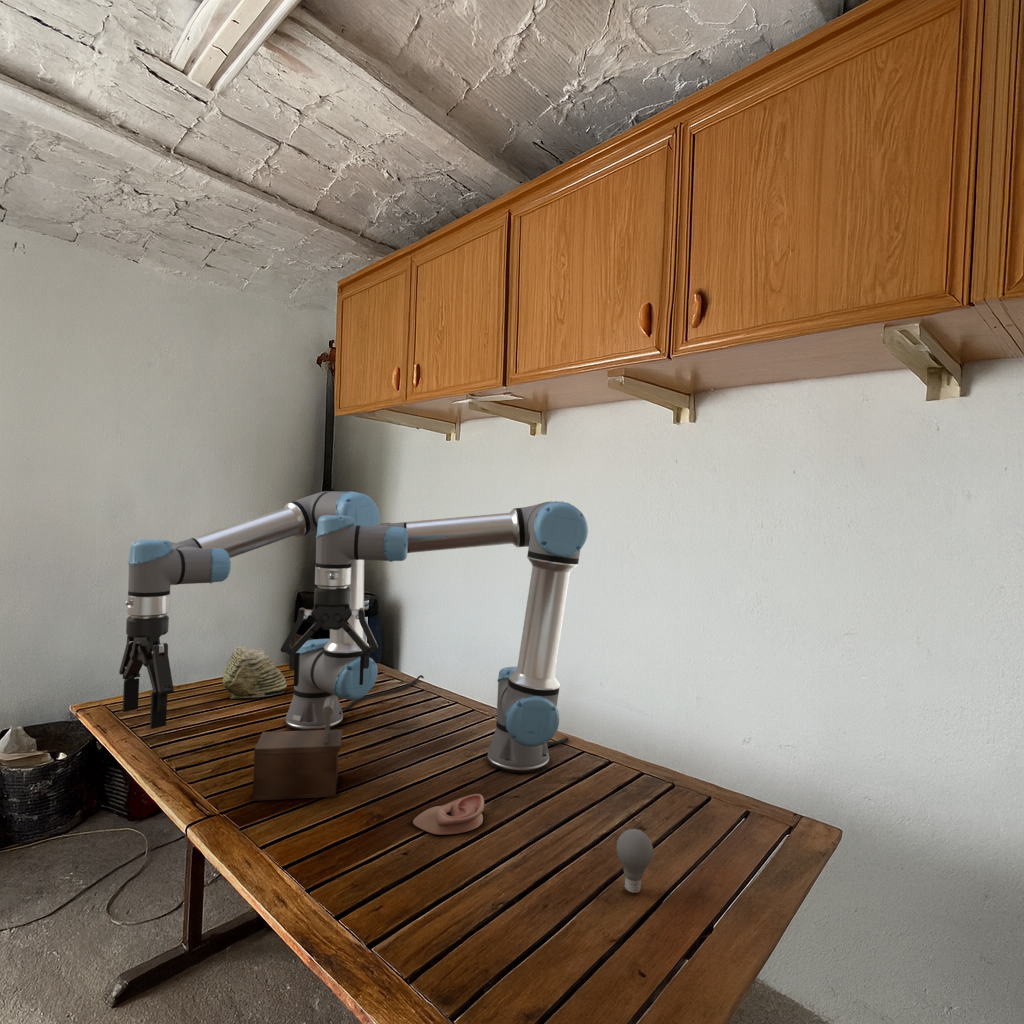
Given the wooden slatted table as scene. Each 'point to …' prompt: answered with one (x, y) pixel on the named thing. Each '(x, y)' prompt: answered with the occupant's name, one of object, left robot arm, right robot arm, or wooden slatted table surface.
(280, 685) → the fossil
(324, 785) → the chest
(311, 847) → the wooden slatted table surface
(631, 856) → the light bulb
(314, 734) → the lid
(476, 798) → the anatomical model
